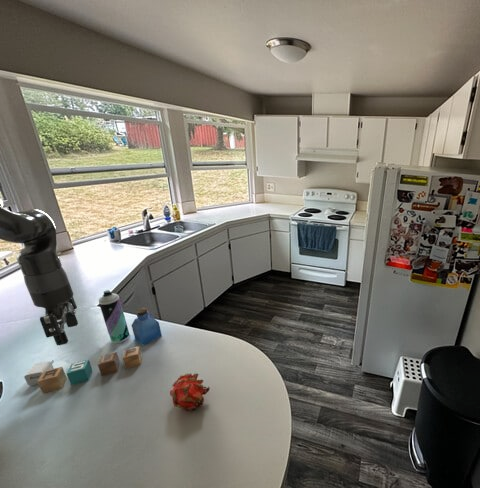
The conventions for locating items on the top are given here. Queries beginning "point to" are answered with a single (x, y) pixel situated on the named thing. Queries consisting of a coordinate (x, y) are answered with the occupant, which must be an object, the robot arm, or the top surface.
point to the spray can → (114, 317)
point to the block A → (52, 379)
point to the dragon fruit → (188, 392)
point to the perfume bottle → (145, 327)
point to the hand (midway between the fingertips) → (68, 334)
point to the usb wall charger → (37, 372)
